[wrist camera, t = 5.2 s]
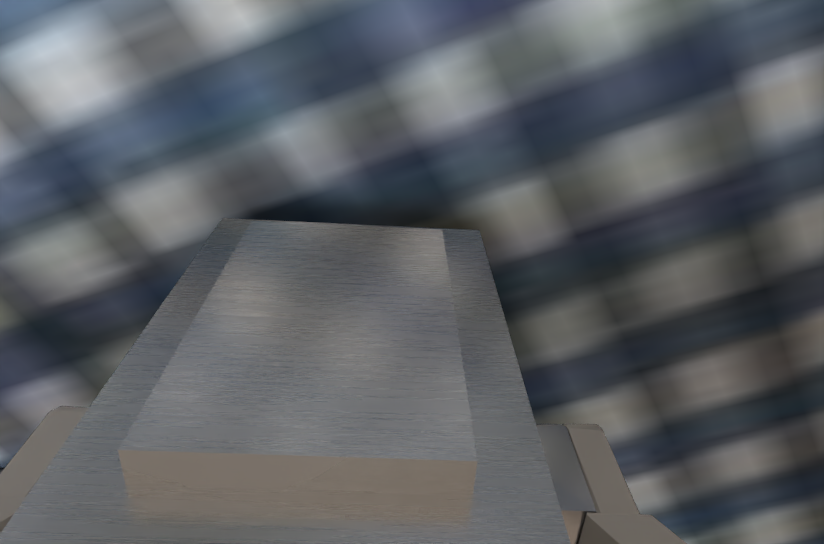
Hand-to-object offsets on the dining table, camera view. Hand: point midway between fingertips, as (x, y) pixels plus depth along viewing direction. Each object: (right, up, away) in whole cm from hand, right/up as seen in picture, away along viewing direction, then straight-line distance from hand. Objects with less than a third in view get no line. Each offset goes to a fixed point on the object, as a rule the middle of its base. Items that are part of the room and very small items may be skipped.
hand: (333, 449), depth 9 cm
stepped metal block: (0, +1, +3) cm, 3 cm away
